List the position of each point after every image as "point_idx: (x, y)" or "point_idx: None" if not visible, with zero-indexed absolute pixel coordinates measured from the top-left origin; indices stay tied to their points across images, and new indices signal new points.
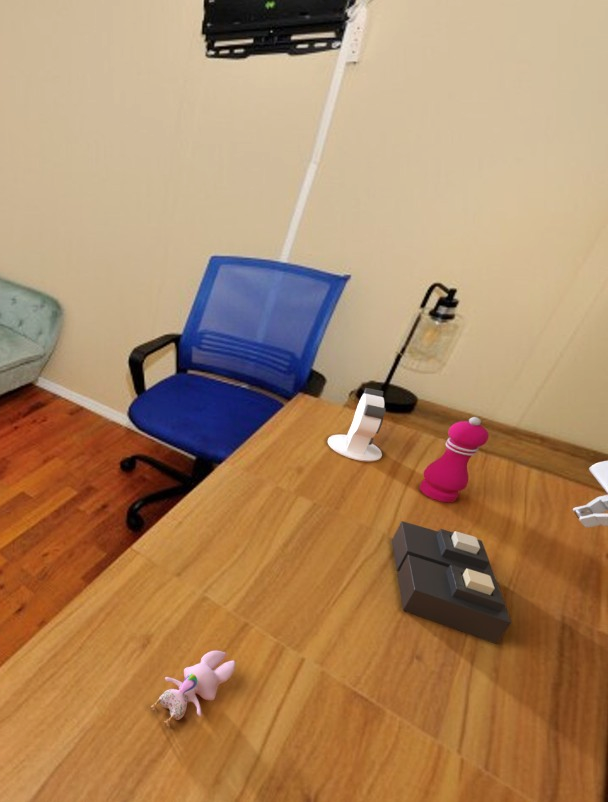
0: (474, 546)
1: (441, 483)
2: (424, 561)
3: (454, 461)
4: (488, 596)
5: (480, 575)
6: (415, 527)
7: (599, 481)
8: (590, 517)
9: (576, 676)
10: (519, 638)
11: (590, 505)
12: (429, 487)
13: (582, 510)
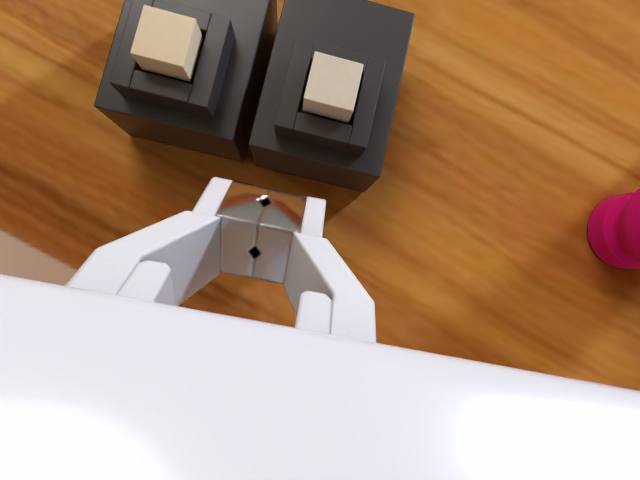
0: (306, 86)
1: (638, 199)
2: (260, 2)
3: None
4: (128, 55)
5: (174, 40)
6: (397, 36)
7: (563, 379)
8: (198, 200)
9: (89, 244)
10: (160, 187)
11: (305, 243)
12: (626, 199)
13: (280, 207)
